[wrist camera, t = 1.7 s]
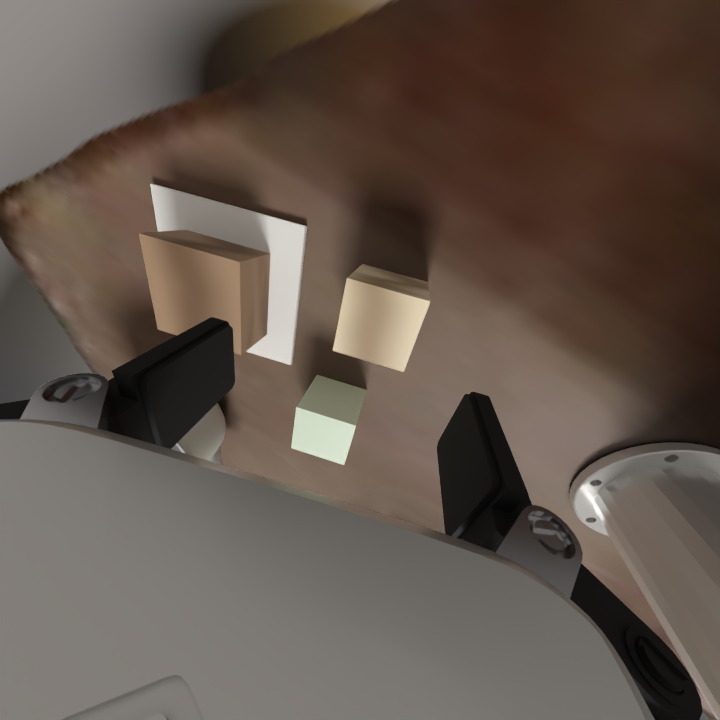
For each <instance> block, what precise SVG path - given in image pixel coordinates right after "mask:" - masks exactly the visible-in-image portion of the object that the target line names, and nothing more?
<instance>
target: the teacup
mask: <svg viewBox="0 0 720 720" xmlns="http://www.w3.org/2000/svg"><path fill="white" fill-rule="evenodd" d="M225 432H226V423H225V418H224V415H223V413H222V410H221V408H220V406H219V404H218V403H217V404H216V405H215V406H214V407H213V408H212V409H211V410H210V411H209V412H208V413H207V414H206V415H205V416H204V417H203V418H202V419H201V420H200V421H199V422H198V423H197V424H196V425H195V426H194V427H193V428H192V429H191V430H190V431H189V432H188V433H187V434H186V435H185V436H184V437H183V438H182V439H181V440H180V441H179V442H178V443H177V444H176V445H175V446H174V447H173V448H172V450H175V451H179V452H182V453H185V454H189V455H192V456H195V457H199V458H202V459H205V460H208V461H212V462H215V463H218V464H222V465H223V463H222V459H221V456H220V454H221V447H220V445H221V443H222V442H223V439H224V437H225Z"/></svg>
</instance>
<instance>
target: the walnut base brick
mask: <svg viewBox="0 0 720 720" xmlns="http://www.w3.org/2000/svg"><path fill="white" fill-rule="evenodd" d="M139 237H140V242H141V247H142V252H143V257H144V262H145V267H146V273H147V278H148V283H149V288H150V293H151V298H152V303H153V308H154V313H155V318H156V323H157V328H158V330H161V331H164V332H167V333H171V334H174V335H179V334H181V333H183V332H185V331H186V330H188V329H190V328H192V327H194V326H196V325H197V324H199V323H201V322H203V321H205V320H207V319H209V318H211V317H214V318H218V319H221V320H225V321H227V322H228V323H229V325H230V326H231V327H232V328H233V344H234V353H236V354H239V355H242V354H243V353H244V352H246V351H247V350H248V349H249V348H251V347H252V346H253V345H254V344H256V343H257V342H258V341H259V340H261V339H262V338H263V337H264V336H266V335H267V323H268V299H269V276H270V253H267V252H263V251H260V250H256V249H252V248H249V247H245V246H242V245H238V244H235V243H231V242H228V241H224V240H221V239H217V238H214V237H210V236H206V235H203V234H199V233H196V232H192V231H189V230H174V231H161V232H148V233H139Z"/></svg>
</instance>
